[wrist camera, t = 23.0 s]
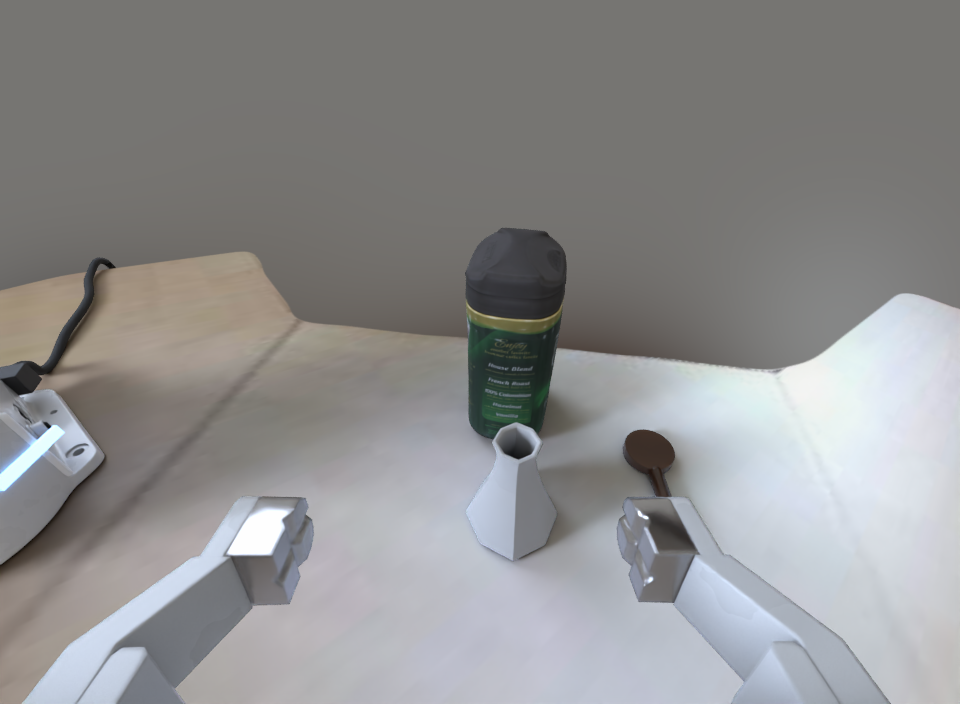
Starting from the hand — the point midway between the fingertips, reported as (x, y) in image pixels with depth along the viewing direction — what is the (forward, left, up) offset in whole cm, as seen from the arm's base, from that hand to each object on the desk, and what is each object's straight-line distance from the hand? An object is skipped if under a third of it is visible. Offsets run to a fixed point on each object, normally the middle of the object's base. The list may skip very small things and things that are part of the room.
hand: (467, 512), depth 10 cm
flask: (-6, +10, -23) cm, 25 cm away
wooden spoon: (+1, +20, -22) cm, 30 cm away
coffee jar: (-15, +18, -23) cm, 32 cm away
